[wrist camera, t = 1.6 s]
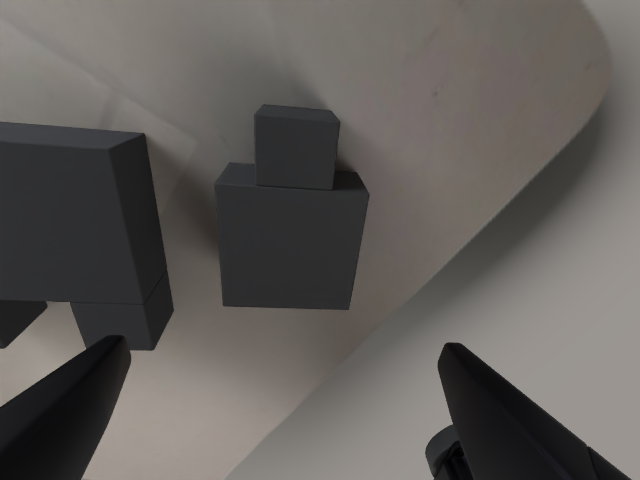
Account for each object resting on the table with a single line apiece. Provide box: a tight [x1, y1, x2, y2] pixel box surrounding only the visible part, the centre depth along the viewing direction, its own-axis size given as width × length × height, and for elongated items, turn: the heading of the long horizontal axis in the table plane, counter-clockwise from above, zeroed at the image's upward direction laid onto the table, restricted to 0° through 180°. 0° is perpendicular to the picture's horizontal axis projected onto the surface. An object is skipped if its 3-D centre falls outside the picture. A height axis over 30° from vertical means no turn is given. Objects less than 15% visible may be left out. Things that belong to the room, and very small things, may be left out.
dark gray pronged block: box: [0, 122, 174, 351], centre depth 14 cm, size 10×10×3 cm
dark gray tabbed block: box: [215, 104, 369, 310], centre depth 14 cm, size 6×9×3 cm
